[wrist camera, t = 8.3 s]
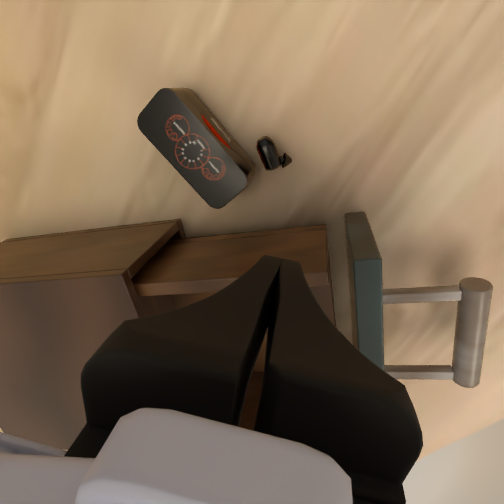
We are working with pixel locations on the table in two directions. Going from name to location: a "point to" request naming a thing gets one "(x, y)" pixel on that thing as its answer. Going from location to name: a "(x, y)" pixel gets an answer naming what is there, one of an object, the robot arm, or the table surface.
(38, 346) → the cabinet
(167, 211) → the table surface
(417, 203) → the table surface
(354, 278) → the drawer
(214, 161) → the wireless earbuds
